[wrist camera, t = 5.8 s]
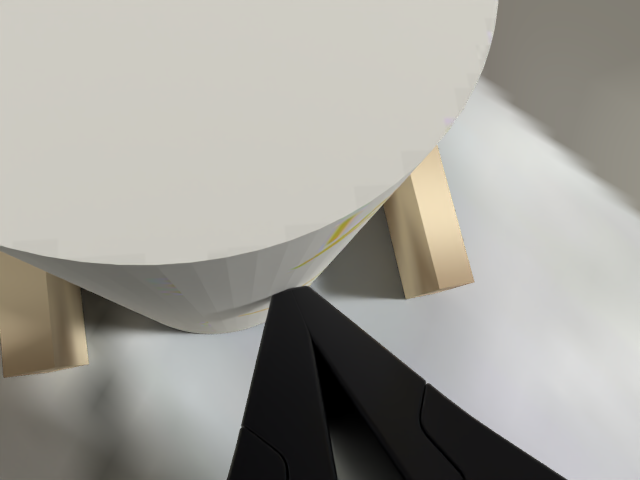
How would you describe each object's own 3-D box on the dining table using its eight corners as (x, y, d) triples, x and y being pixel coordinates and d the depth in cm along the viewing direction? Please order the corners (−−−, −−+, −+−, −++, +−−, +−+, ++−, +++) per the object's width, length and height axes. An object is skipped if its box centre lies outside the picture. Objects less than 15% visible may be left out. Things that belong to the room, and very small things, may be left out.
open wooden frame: (435, 293, 18) (474, 282, 15) (48, 372, 15) (3, 377, 12) (363, 11, 20) (385, -46, 17) (16, 32, 17) (-28, -32, 14)
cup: (308, 353, 16) (471, 338, 5) (63, 309, 15) (-482, 155, 4) (344, 141, 18) (516, -225, 7) (132, 92, 17) (-80, -423, 6)
